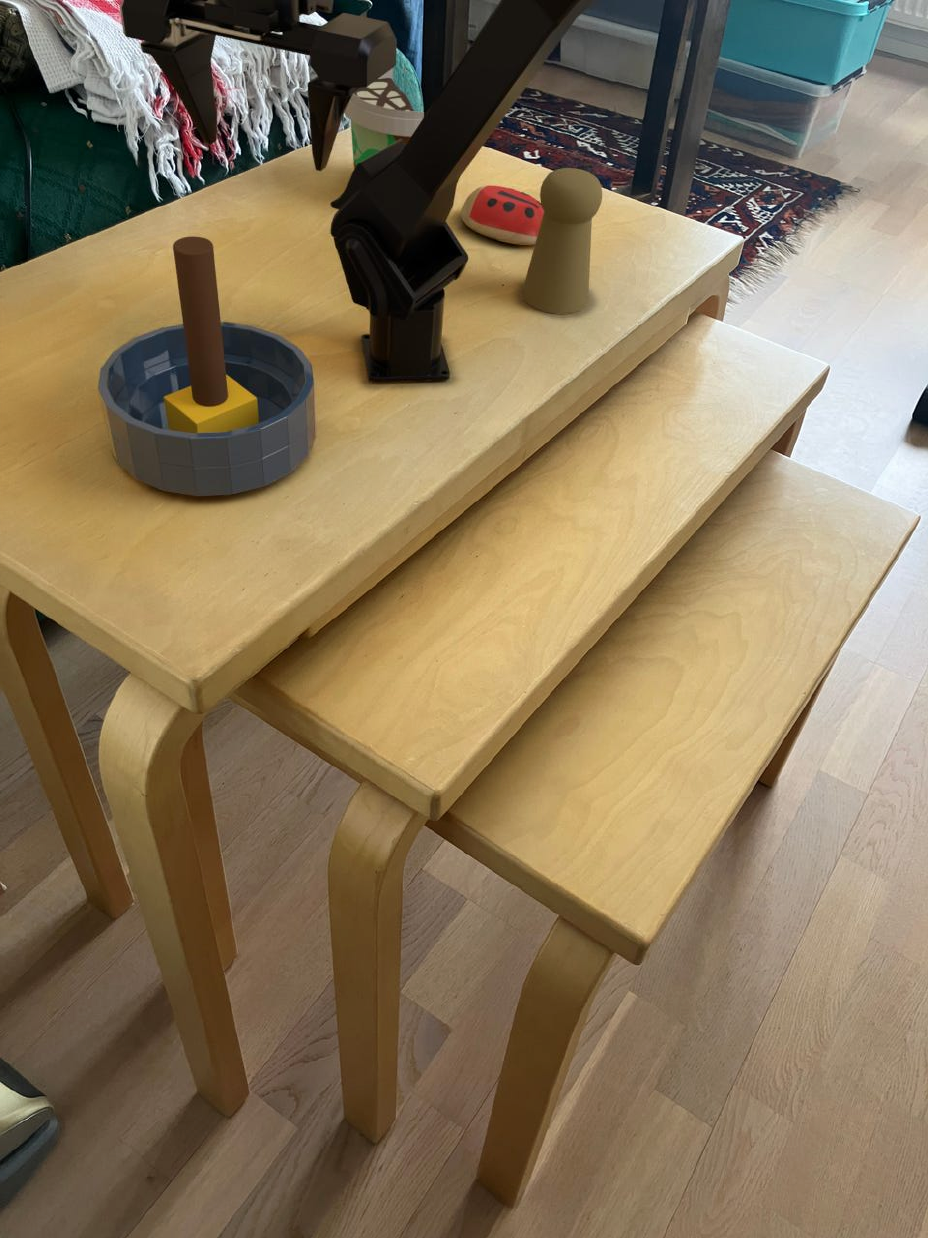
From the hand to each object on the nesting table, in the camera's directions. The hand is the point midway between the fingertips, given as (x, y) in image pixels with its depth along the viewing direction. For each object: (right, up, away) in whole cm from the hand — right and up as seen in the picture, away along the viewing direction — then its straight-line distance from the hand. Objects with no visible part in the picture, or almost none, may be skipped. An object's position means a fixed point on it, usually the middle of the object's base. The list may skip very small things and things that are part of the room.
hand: (265, 155), depth 77 cm
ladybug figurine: (+19, +3, +24) cm, 31 cm away
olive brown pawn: (+23, -6, +15) cm, 28 cm away
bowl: (-3, -22, -4) cm, 23 cm away
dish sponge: (-3, -22, -4) cm, 22 cm away
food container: (+6, +8, +27) cm, 29 cm away
